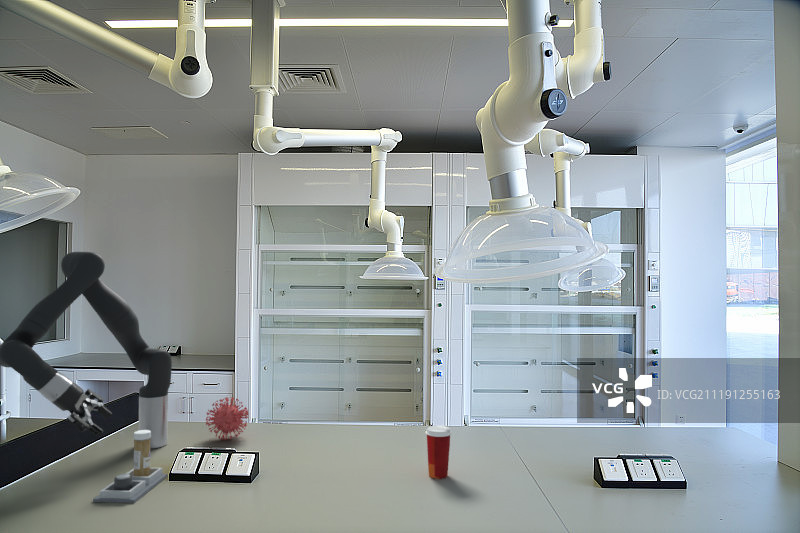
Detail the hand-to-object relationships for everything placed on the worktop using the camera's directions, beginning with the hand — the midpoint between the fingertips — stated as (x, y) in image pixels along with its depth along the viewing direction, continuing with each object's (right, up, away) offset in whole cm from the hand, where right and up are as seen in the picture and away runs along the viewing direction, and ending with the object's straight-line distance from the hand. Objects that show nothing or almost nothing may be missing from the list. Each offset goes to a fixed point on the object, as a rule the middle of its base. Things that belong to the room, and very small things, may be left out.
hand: (105, 424), depth 171 cm
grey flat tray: (+14, -14, -12) cm, 23 cm away
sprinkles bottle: (+14, -14, -7) cm, 21 cm away
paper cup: (+99, -15, 0) cm, 100 cm away
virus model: (+25, -15, +36) cm, 47 cm away
